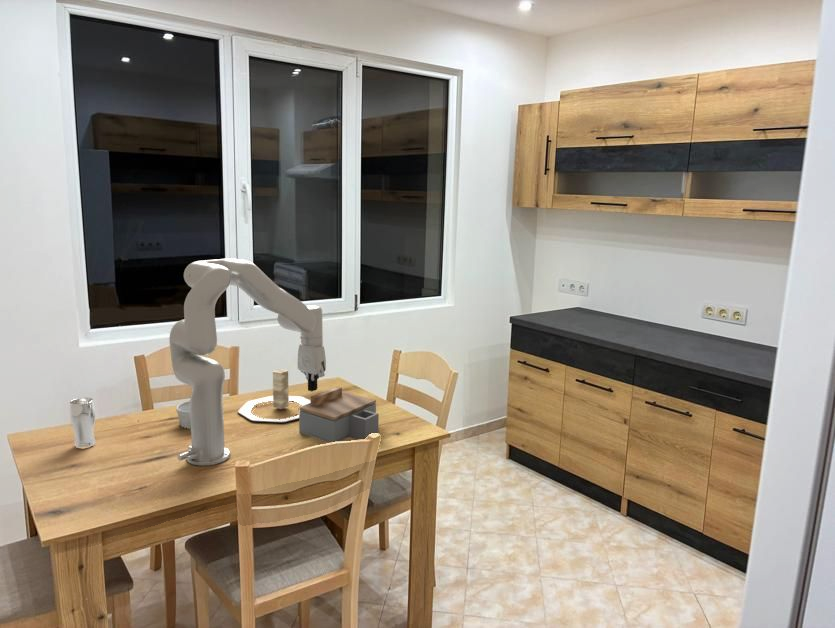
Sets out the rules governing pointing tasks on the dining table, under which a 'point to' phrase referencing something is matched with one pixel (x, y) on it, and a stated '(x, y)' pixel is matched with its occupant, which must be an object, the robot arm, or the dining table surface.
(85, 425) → the beer glass
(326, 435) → the toolbox
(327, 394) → the lid
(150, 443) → the dining table surface
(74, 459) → the dining table surface
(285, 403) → the rectangular block
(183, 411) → the ramekin
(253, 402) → the plate
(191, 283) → the robot arm
